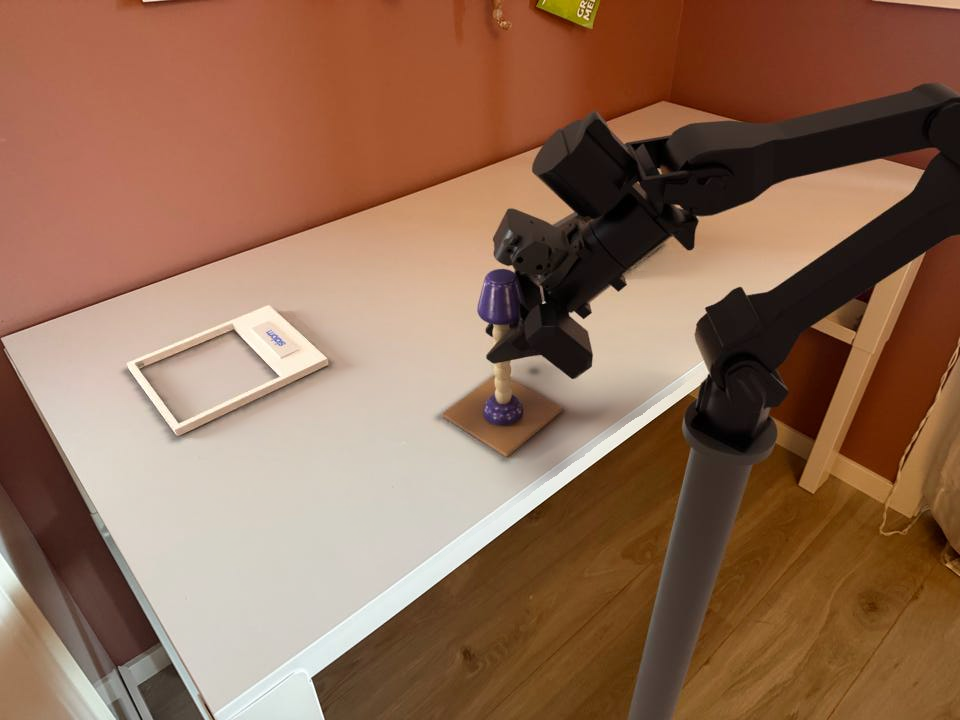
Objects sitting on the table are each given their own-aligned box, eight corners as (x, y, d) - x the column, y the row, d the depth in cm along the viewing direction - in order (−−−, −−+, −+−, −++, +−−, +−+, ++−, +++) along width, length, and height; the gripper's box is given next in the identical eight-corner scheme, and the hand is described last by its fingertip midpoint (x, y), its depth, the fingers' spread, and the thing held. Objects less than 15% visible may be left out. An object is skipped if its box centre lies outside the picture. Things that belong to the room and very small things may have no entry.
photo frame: (327, 357, 82) (174, 428, 74) (328, 364, 83) (177, 436, 74) (268, 303, 91) (125, 361, 82) (270, 310, 92) (129, 369, 83)
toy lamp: (474, 403, 77) (467, 270, 66) (512, 390, 78) (512, 258, 68) (494, 431, 73) (490, 296, 63) (534, 417, 75) (536, 282, 64)
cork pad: (561, 411, 76) (561, 407, 76) (506, 457, 71) (506, 454, 71) (498, 375, 81) (498, 372, 81) (442, 416, 76) (442, 413, 76)
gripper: (540, 143, 67) (431, 249, 74) (559, 241, 53) (421, 362, 60) (616, 217, 72) (507, 310, 79) (653, 325, 58) (515, 428, 65)
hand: (488, 346), depth 71 cm, fingers closed on toy lamp, 4 cm apart
